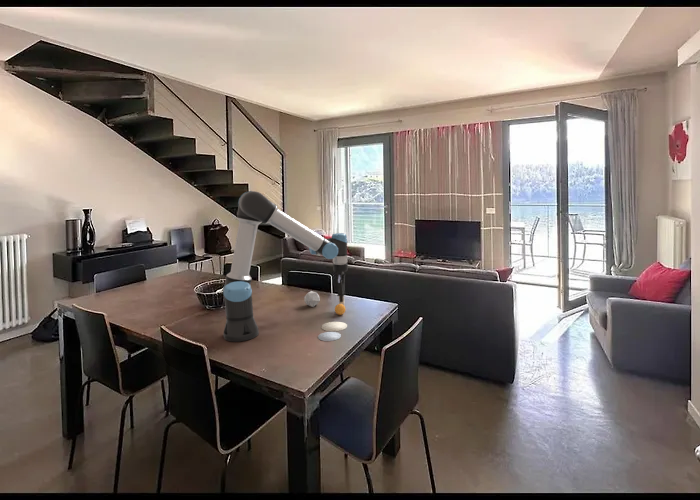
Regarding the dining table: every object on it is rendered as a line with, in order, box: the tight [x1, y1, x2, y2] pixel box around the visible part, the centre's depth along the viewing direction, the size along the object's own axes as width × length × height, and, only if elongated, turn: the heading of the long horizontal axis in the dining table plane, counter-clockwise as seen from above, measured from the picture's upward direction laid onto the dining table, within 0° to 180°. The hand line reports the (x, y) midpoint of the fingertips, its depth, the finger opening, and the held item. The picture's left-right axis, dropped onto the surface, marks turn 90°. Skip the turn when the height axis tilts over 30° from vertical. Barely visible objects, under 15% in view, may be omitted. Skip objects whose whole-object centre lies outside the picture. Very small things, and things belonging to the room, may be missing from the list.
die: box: [304, 290, 321, 308], centre depth 211 cm, size 8×9×10 cm
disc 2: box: [317, 331, 342, 342], centre depth 167 cm, size 10×10×1 cm
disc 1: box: [321, 321, 348, 332], centre depth 179 cm, size 12×12×1 cm
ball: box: [334, 303, 346, 316], centre depth 195 cm, size 6×6×6 cm
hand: (341, 307), depth 202 cm, fingers closed
